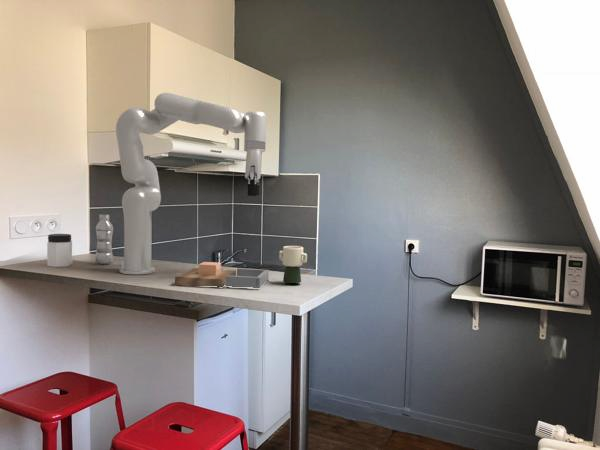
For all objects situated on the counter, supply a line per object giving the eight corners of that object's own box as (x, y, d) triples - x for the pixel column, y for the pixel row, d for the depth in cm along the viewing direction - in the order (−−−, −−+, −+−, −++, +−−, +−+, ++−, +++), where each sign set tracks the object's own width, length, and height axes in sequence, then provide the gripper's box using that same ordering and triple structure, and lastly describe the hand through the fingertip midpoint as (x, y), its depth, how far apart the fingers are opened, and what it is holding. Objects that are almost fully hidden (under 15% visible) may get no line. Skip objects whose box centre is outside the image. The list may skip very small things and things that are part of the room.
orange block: (198, 274, 170) (198, 264, 169) (203, 271, 175) (204, 261, 175) (215, 275, 169) (216, 265, 169) (220, 272, 175) (220, 262, 175)
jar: (52, 263, 199) (52, 233, 198) (73, 263, 201) (73, 233, 200) (44, 267, 190) (44, 235, 190) (67, 267, 192) (67, 236, 191)
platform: (174, 285, 164) (175, 276, 164) (192, 276, 182) (192, 268, 182) (222, 288, 163) (222, 279, 162) (235, 278, 181) (236, 270, 180)
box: (225, 288, 164) (226, 276, 163) (237, 279, 179) (237, 268, 179) (259, 290, 162) (259, 277, 162) (268, 281, 178) (268, 269, 178)
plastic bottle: (97, 262, 205) (97, 213, 203) (114, 262, 206) (115, 214, 204) (93, 265, 198) (93, 214, 197) (110, 265, 199) (111, 215, 198)
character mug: (310, 284, 175) (311, 247, 174) (301, 287, 168) (302, 249, 168) (283, 280, 180) (284, 244, 179) (273, 283, 174) (274, 246, 173)
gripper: (246, 148, 186) (245, 194, 187) (241, 144, 169) (240, 195, 170) (266, 149, 186) (265, 195, 187) (263, 145, 169) (262, 196, 170)
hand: (253, 195), depth 179 cm, fingers open, 9 cm apart
